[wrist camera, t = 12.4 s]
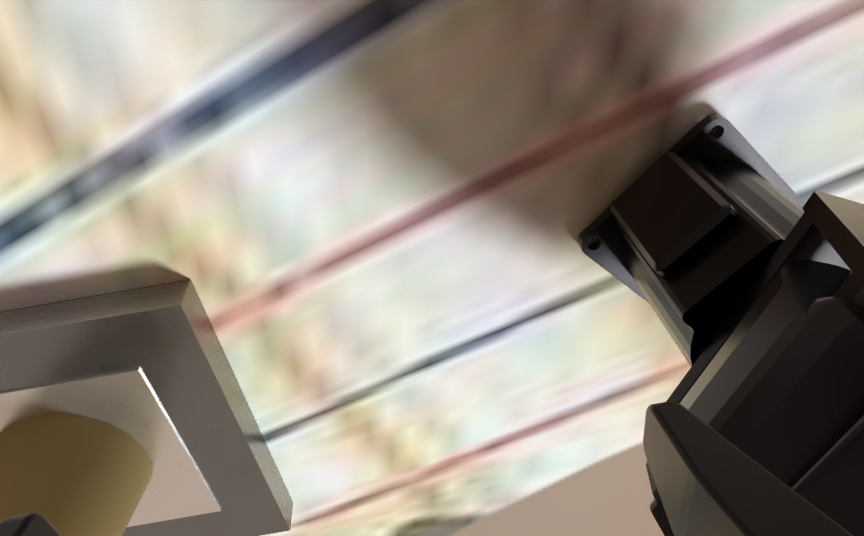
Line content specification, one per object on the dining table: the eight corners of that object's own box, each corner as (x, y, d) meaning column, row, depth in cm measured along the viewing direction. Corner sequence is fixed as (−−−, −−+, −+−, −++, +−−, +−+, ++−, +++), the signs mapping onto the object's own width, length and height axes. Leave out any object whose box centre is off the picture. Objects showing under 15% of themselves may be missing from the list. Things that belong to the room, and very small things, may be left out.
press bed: (190, 279, 22) (179, 306, 21) (292, 502, 30) (290, 532, 29) (-188, 344, 22) (-223, 375, 21) (16, 550, 30) (0, 582, 29)
